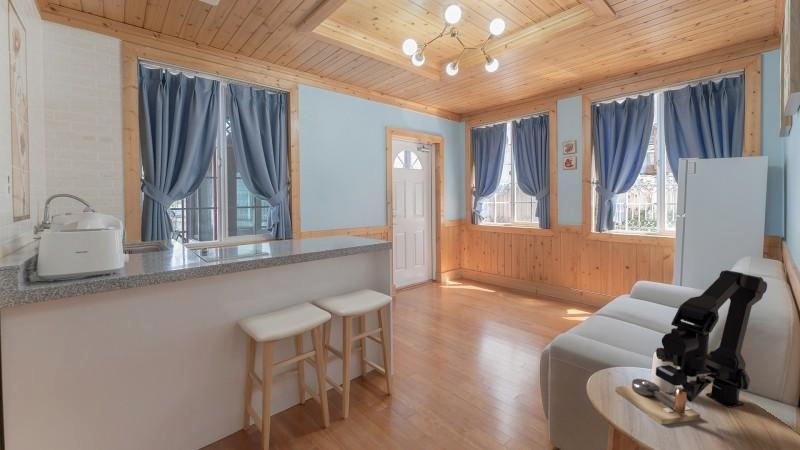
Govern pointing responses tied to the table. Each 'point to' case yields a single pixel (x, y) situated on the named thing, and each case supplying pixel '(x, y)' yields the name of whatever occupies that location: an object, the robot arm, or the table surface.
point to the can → (657, 380)
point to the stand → (657, 407)
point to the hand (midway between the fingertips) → (689, 401)
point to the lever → (653, 391)
